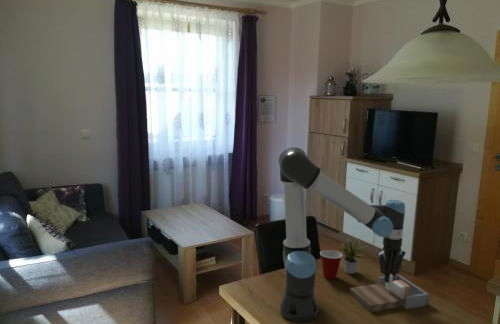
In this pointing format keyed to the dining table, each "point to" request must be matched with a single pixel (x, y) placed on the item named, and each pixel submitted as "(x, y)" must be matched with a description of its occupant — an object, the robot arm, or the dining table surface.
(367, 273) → the dining table surface
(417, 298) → the box
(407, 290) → the terracotta tile
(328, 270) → the plastic cup
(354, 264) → the house plant
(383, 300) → the walnut plate
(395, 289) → the cream tile
